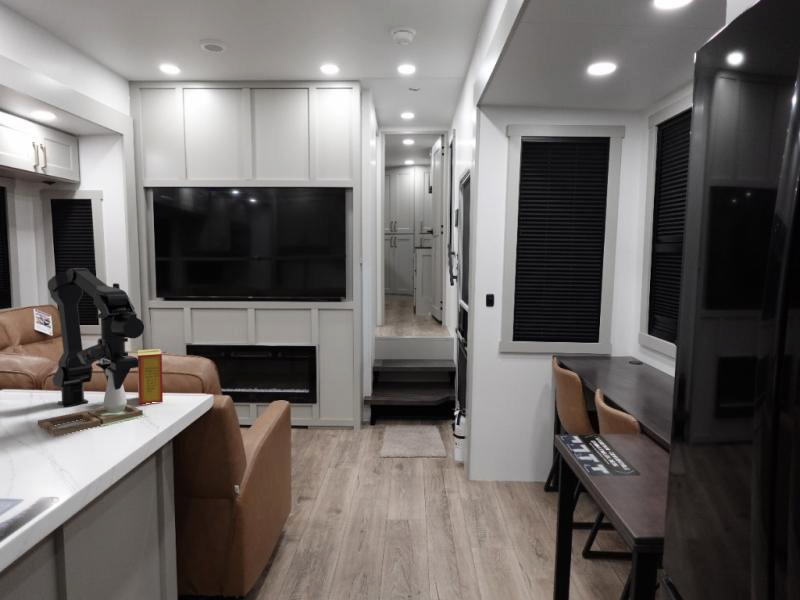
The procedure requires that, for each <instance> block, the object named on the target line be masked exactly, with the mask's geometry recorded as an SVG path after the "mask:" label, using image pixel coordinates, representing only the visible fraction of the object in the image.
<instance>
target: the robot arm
mask: <svg viewBox="0 0 800 600" xmlns="http://www.w3.org/2000/svg"><path fill="white" fill-rule="evenodd" d="M47 288H48V291H49V295H50V297H51V299H52V300H53V301H54V302H55V304H56V305H57V307H58V314H59V323H60V331H61V332H60V333H61V340H62V349H63V350H62V351H63V353H62V354H61V356H60V359H59V360H58V363H57V365H58V366H57V370H56V371H55V373H54V375H53V377H52V383H53V386H54V387H58V388H61V391H60V392H61V400H58V401H57V404H58V405H61V406H62V407H65V408H66V407H67V408H68V407H72V406H78V405H81V404H87V403H89V400H88V399H85V392H84V391H85V390H84V385H85V384H84V383H91V381H92V376H93V371H94V367H93V364H94V363H95V362H97V363H95V365H96V366H97V367H98V368H100V369H102V371H103V374H104V376H105V379H106V381H107V382H108V377H109V376H107V375H106V372H105V371H106V369H107V370H109V371H110V372H111V373H112V377H113V383H114V387H115V390H117V389H120V388H121V386H122V384H123V385H124V381H125V379H126V378H127V376H128V374H129V372H130V371H131V369H135V368H137V369H138V367H140V365H139V359H138V357H137V356H134V355H129V352H128V351H126V343H127V342H129V339H137V338H140V337H141V336H142V334H143V332H144V331H145V330H144V329H145V325H144V323H143V321H142V320H141V319H140V318H139V317H137V313H136V311H135V307H134V305H133V303H132V302H131V299H130V297H129V295H128V294H127V292H126V291H125V290H123V289H121V288H118V287H114V286H110V285H107V284H106V283H105V282H103V281H102V280H101V279H99V278H98V277H97V276H95V275H94V274H93V273H92V272H91V271H90V269H88V268H87V267H86V268H85V267H83V268H82V267H80V268H79V267H73V268H72V267H71V268H69V269H67V270H66V271H64V272H62V273H58V274H56V275H54V276H52V277H51V278H50V279H48V282H47ZM83 291H84V292H85V293H86V294H88V295H89V296H90V297H92V298H93V305H94V306H95V307H96V309H98V311H99V312H100V313H99V314H98V315H97V318H98V319H100V328H101V329H100V332H101V335H100V338H98V339H97V344H95V345H92V346H90V347H87V348H84V349H83V342H82V333H81V325H80V315H79V306H78V304H79V302H80V300H81V298H82V296H83ZM110 366H111V367H110ZM108 367H109V368H108Z"/></svg>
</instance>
